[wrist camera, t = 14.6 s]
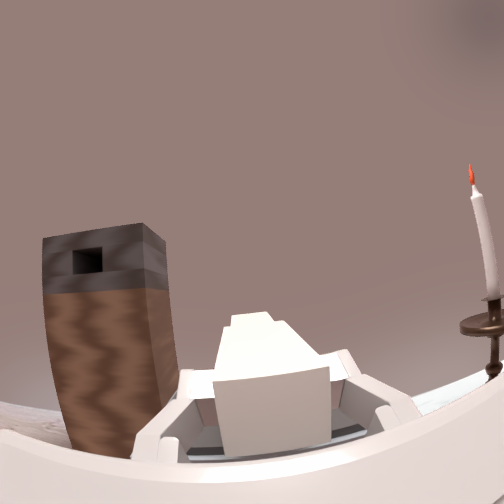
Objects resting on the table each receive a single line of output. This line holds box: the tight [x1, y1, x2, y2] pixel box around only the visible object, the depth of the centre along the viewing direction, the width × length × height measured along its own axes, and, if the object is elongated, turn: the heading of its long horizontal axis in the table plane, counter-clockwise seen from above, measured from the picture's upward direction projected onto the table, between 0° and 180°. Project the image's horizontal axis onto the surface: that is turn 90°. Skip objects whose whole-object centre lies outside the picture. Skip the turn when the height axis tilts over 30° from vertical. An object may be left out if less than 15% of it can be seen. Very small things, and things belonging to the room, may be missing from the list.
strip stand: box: [42, 223, 179, 459], centre depth 30 cm, size 14×10×31 cm
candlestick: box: [460, 165, 504, 384], centre depth 26 cm, size 11×11×35 cm
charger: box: [212, 312, 331, 457], centre depth 16 cm, size 4×16×3 cm, turn 2°
